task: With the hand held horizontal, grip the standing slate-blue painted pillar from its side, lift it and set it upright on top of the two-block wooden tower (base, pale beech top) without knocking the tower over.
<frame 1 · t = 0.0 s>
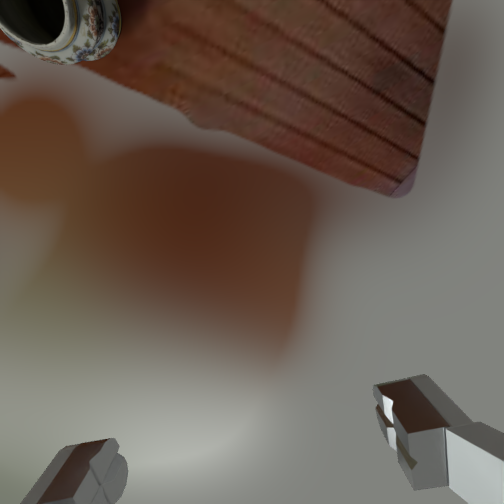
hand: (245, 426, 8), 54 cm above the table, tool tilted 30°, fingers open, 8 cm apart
apothecary jar: (86, 8, 39), on the table
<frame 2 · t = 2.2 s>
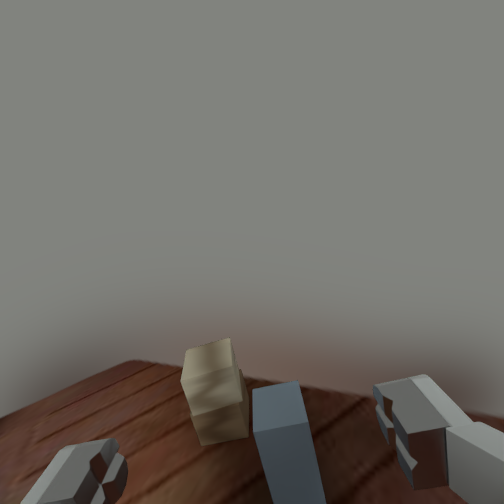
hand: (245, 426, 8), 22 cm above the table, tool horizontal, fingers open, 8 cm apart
pillar: (298, 486, 25), on the table
tower top: (217, 389, 33), point 5 cm above the table, touching tower base
tower base: (227, 420, 34), on the table, touching tower top
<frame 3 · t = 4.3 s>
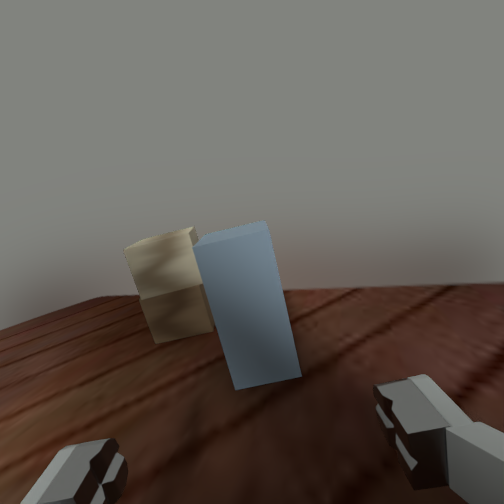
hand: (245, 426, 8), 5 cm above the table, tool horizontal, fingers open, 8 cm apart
pillar: (266, 361, 19), on the table
tower top: (177, 281, 27), point 5 cm above the table, touching tower base
tower base: (191, 322, 28), on the table, touching tower top
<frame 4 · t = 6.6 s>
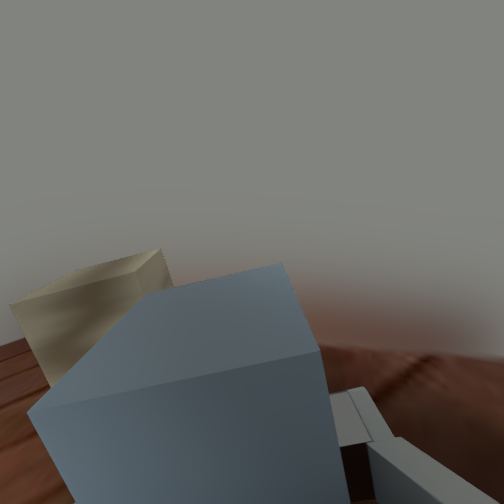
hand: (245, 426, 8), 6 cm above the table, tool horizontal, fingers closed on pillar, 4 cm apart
tower top: (129, 342, 16), point 5 cm above the table, touching tower base
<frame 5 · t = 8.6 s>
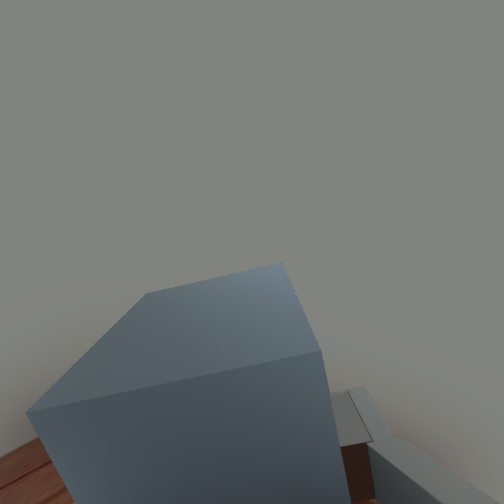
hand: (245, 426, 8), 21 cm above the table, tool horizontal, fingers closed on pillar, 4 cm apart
when the fingers open (16 cm above the table, at t = 10.7 s): pillar drops 1 cm, resting on tower top.
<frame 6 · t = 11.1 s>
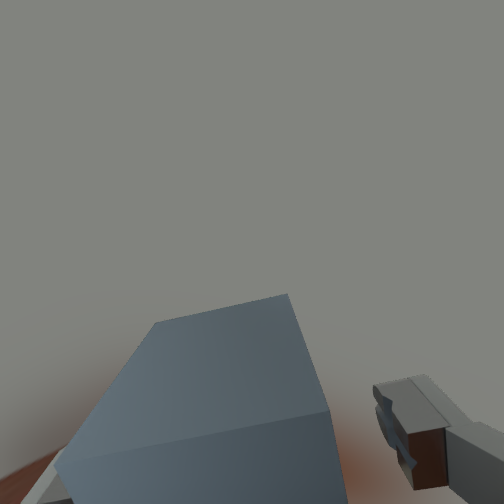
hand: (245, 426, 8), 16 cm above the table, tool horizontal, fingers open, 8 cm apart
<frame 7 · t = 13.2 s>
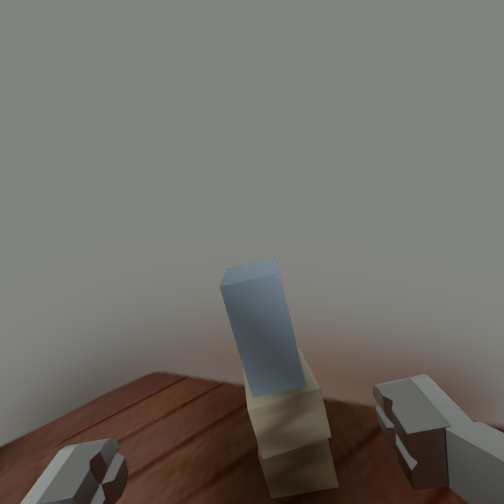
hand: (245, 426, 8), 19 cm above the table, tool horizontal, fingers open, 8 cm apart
pillar: (277, 373, 23), point 10 cm above the table, touching tower top
tower top: (288, 417, 24), point 5 cm above the table, touching pillar, tower base
tower base: (299, 458, 25), on the table, touching tower top
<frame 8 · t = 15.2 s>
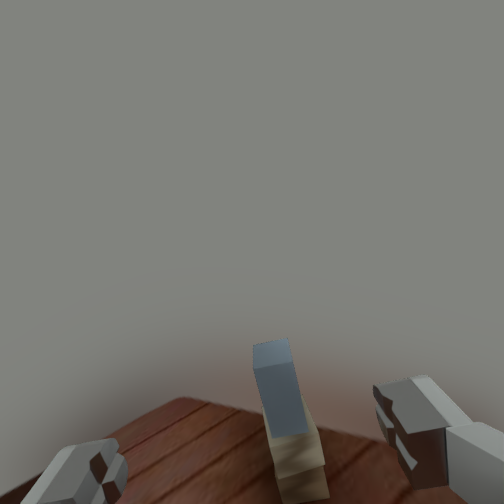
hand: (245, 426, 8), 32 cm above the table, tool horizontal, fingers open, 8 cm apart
pillar: (288, 418, 32), point 10 cm above the table, touching tower top
tower top: (294, 448, 34), point 5 cm above the table, touching pillar, tower base
tower base: (302, 475, 35), on the table, touching tower top
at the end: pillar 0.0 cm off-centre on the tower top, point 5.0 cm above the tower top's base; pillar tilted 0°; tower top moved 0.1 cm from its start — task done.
